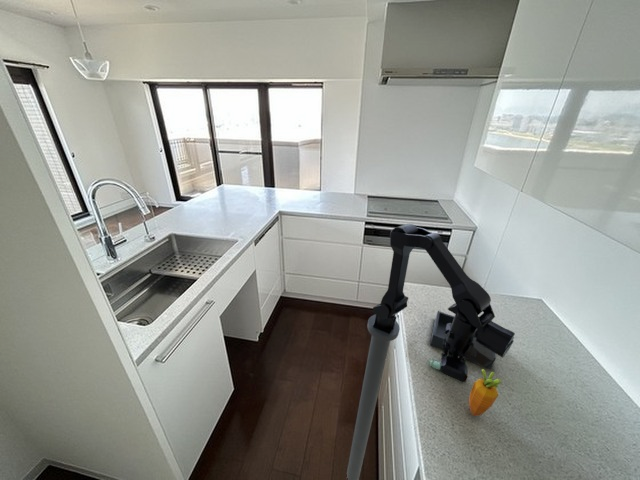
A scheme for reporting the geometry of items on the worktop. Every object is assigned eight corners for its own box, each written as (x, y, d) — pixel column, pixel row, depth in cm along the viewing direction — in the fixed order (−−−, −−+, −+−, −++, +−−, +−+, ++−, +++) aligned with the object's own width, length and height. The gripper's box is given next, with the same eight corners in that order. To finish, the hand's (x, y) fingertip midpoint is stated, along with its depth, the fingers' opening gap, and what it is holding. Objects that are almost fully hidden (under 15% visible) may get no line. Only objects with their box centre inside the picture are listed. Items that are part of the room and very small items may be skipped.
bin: (429, 345, 85) (433, 334, 83) (434, 320, 96) (437, 310, 94) (490, 369, 78) (495, 358, 76) (488, 339, 89) (493, 329, 87)
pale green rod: (428, 366, 77) (430, 362, 77) (429, 362, 79) (430, 357, 78) (465, 382, 73) (467, 378, 72) (465, 377, 75) (467, 372, 74)
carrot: (458, 405, 67) (475, 366, 61) (475, 404, 68) (495, 365, 61) (469, 425, 63) (490, 385, 56) (488, 424, 63) (510, 384, 57)
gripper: (500, 370, 58) (478, 412, 65) (494, 320, 73) (477, 358, 80) (447, 349, 63) (432, 390, 70) (452, 306, 78) (439, 343, 84)
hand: (447, 369), depth 76 cm, fingers closed
